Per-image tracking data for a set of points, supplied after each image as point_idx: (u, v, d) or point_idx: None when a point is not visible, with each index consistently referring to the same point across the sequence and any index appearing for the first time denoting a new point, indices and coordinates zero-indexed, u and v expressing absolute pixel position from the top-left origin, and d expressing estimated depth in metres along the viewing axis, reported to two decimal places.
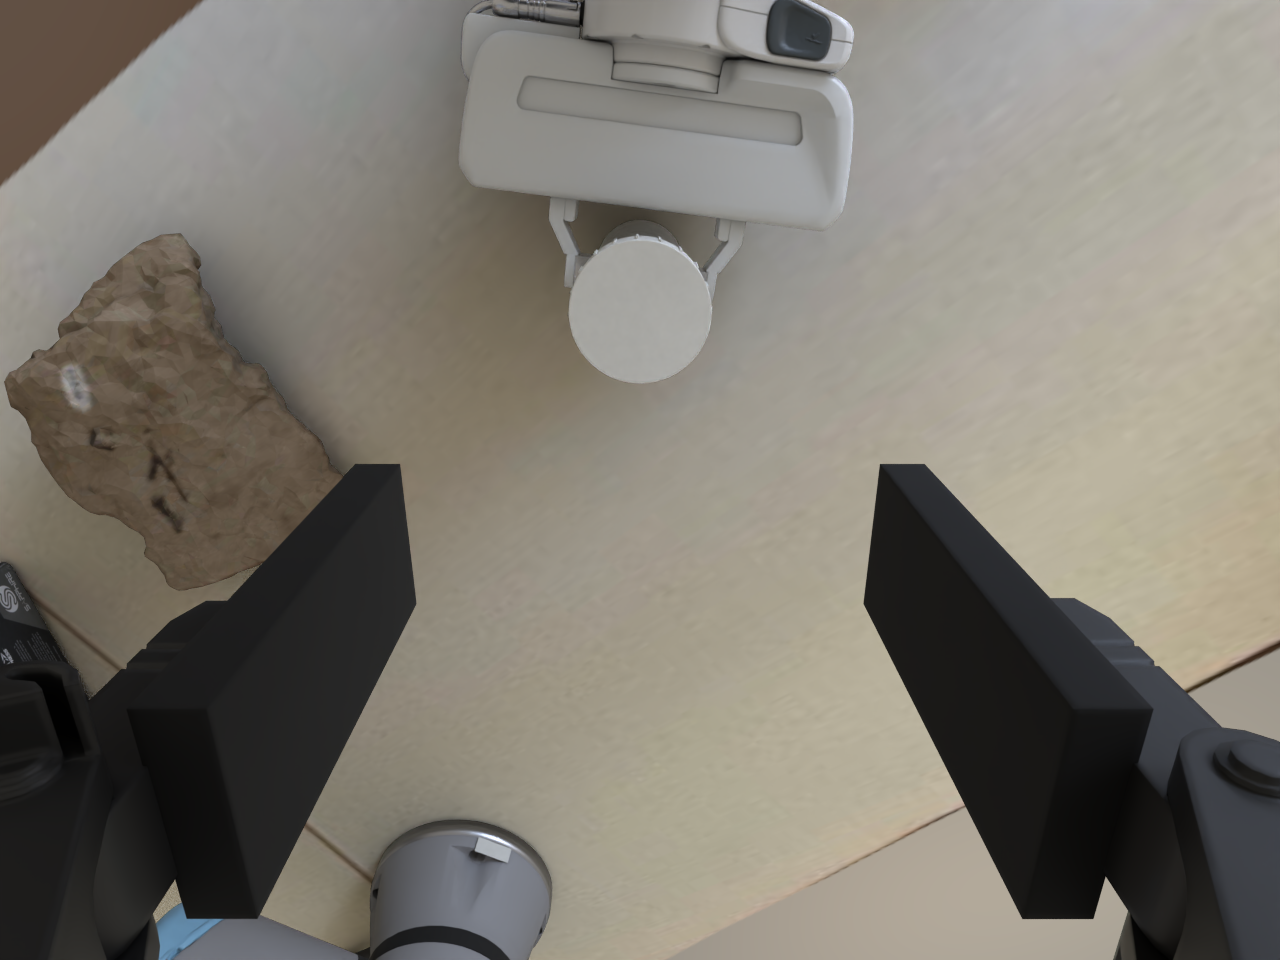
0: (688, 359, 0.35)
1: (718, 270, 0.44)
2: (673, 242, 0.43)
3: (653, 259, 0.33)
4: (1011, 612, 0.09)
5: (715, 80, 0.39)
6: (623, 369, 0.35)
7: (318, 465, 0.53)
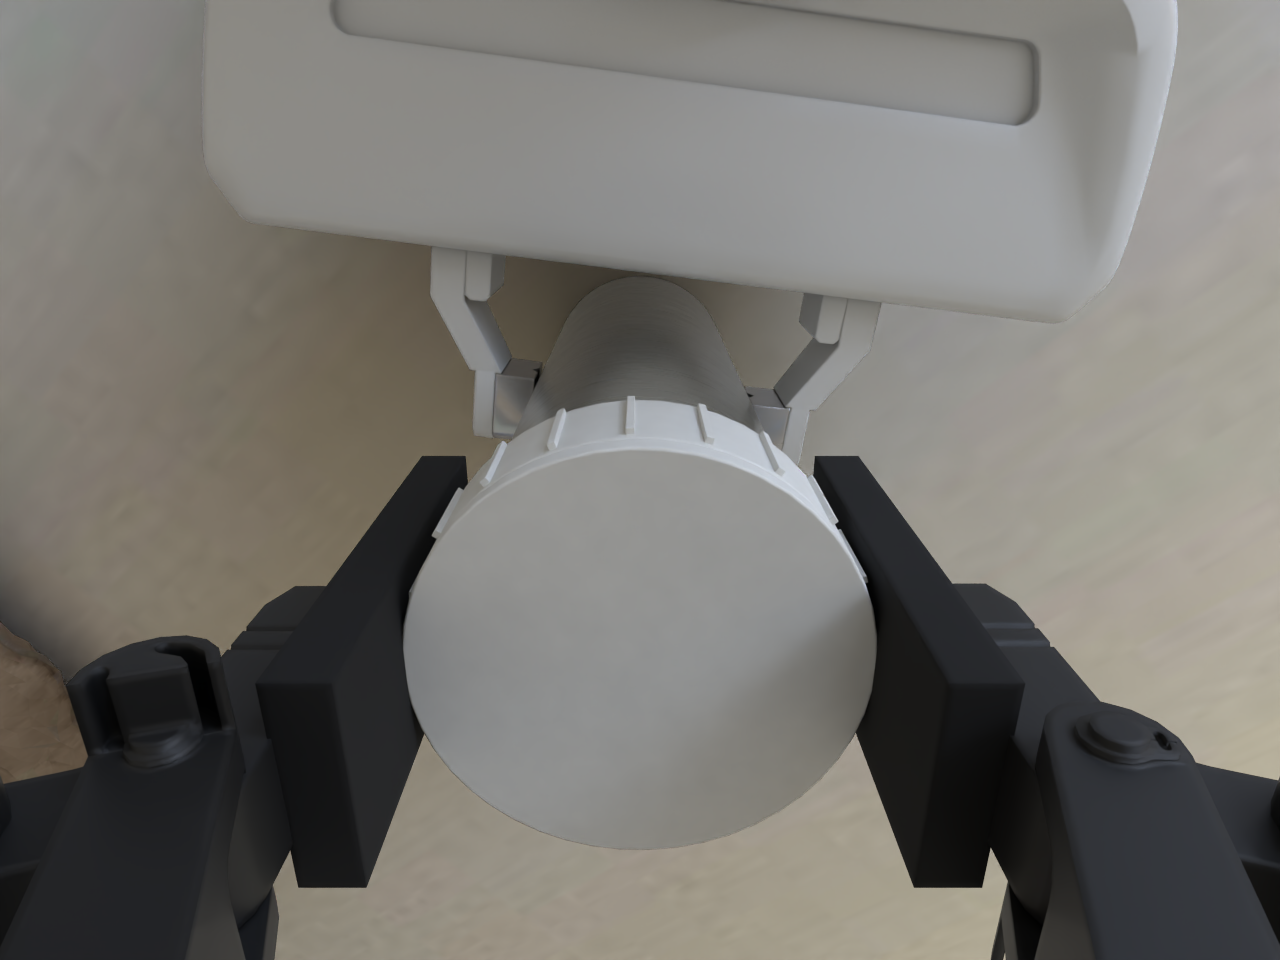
0: (793, 791, 0.11)
1: (813, 405, 0.20)
2: (715, 347, 0.19)
3: (688, 509, 0.10)
4: (910, 594, 0.09)
5: None
6: (587, 816, 0.11)
7: (49, 718, 0.29)
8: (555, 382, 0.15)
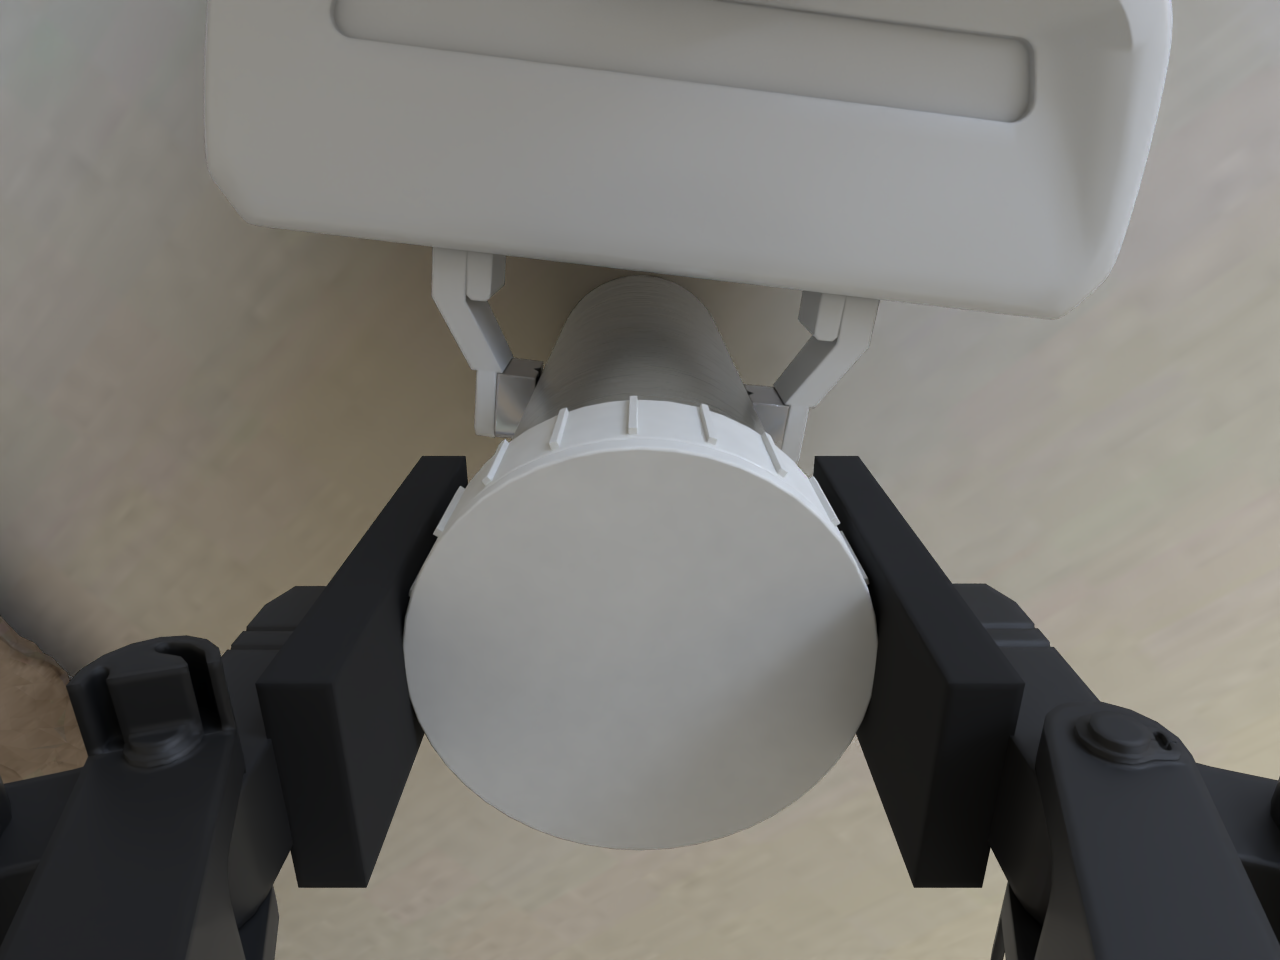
0: (671, 464, 0.09)
1: (812, 402, 0.20)
2: (715, 345, 0.19)
3: (475, 726, 0.11)
4: (910, 595, 0.09)
5: None
6: (830, 617, 0.10)
7: (56, 719, 0.29)
8: (556, 381, 0.15)
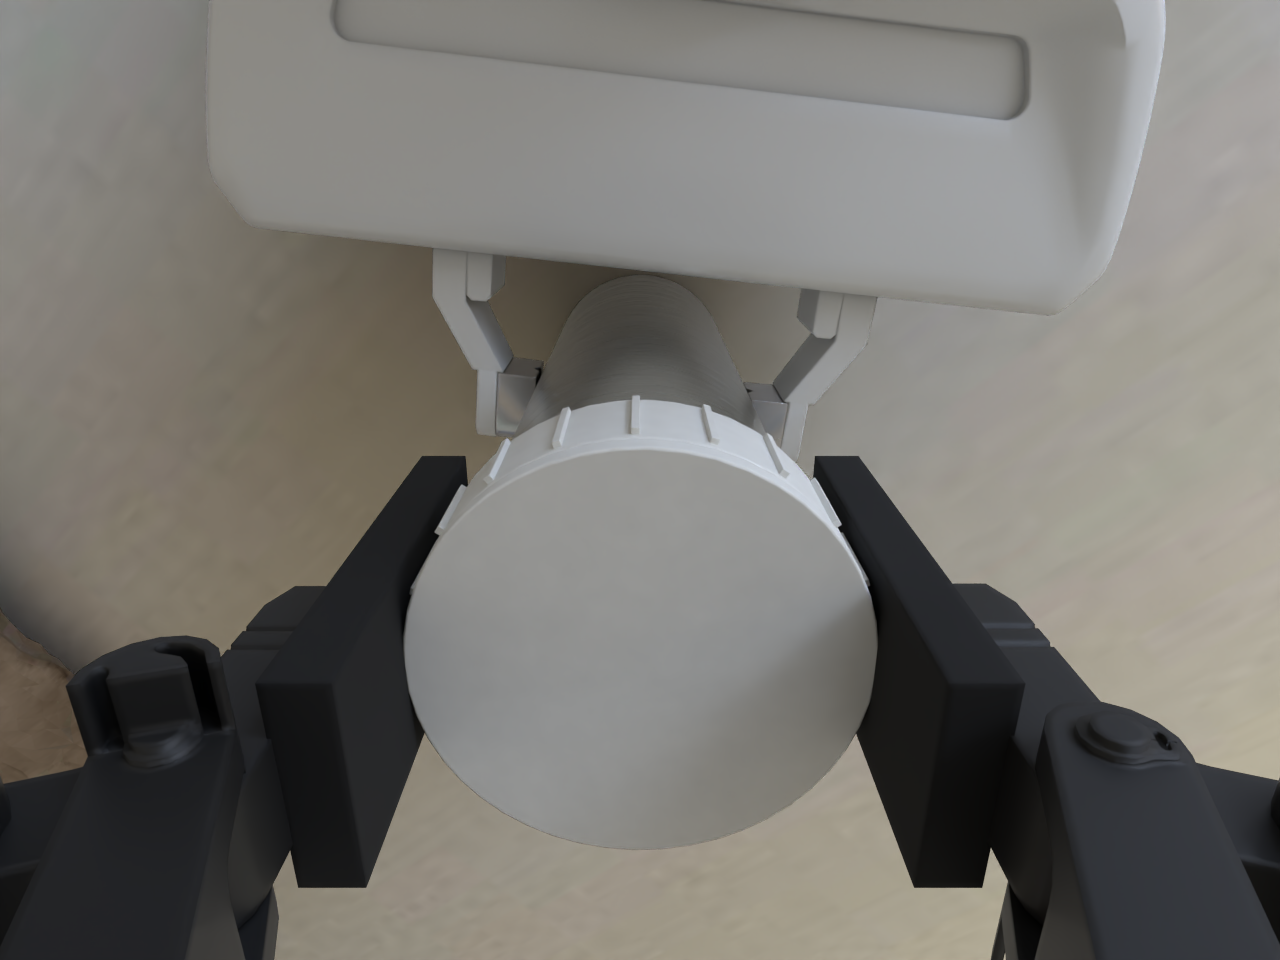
0: (452, 756, 0.11)
1: (811, 399, 0.20)
2: (714, 343, 0.19)
3: (786, 751, 0.11)
4: (910, 595, 0.09)
5: None
6: (473, 570, 0.10)
7: (63, 720, 0.29)
8: (556, 379, 0.16)
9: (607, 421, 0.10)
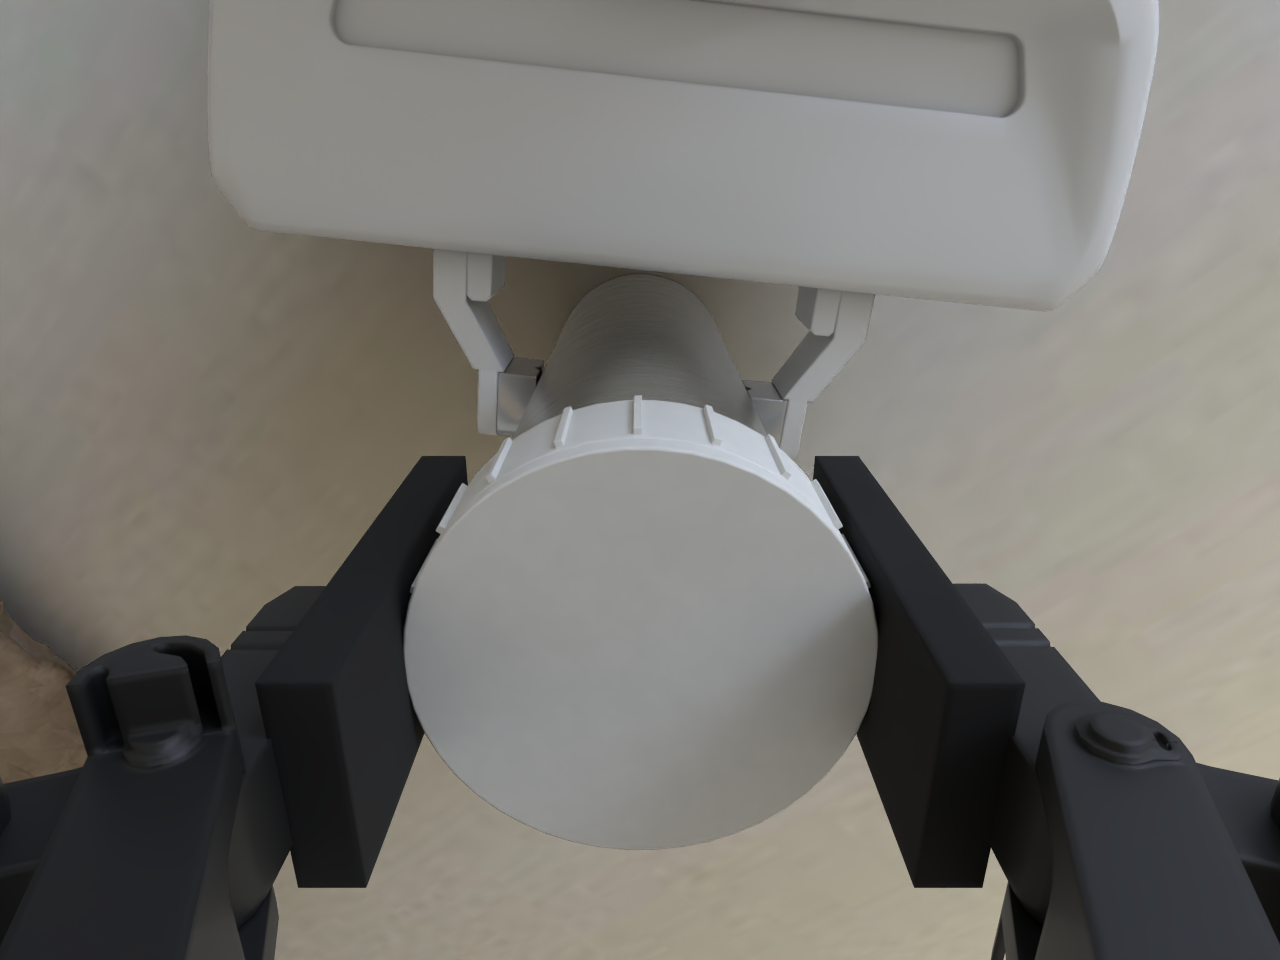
0: (832, 751, 0.11)
1: (810, 396, 0.20)
2: (713, 342, 0.19)
3: (632, 503, 0.09)
4: (910, 595, 0.09)
5: None
6: (639, 822, 0.11)
7: (69, 721, 0.29)
8: (556, 378, 0.16)
9: None
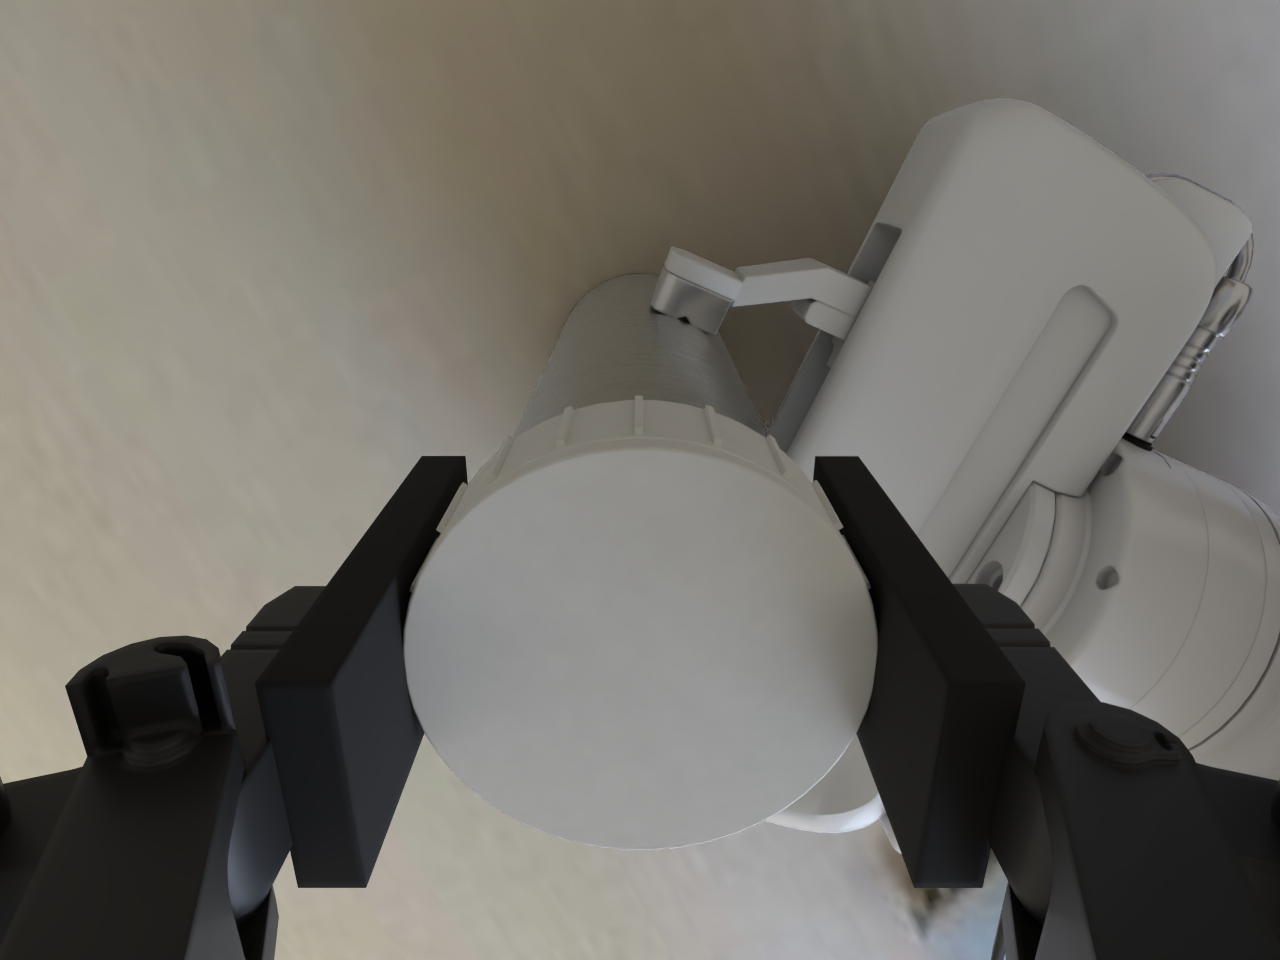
0: (831, 752, 0.11)
1: None
2: None
3: (633, 504, 0.09)
4: (910, 595, 0.09)
5: None
6: (638, 822, 0.11)
7: None
8: None
9: None
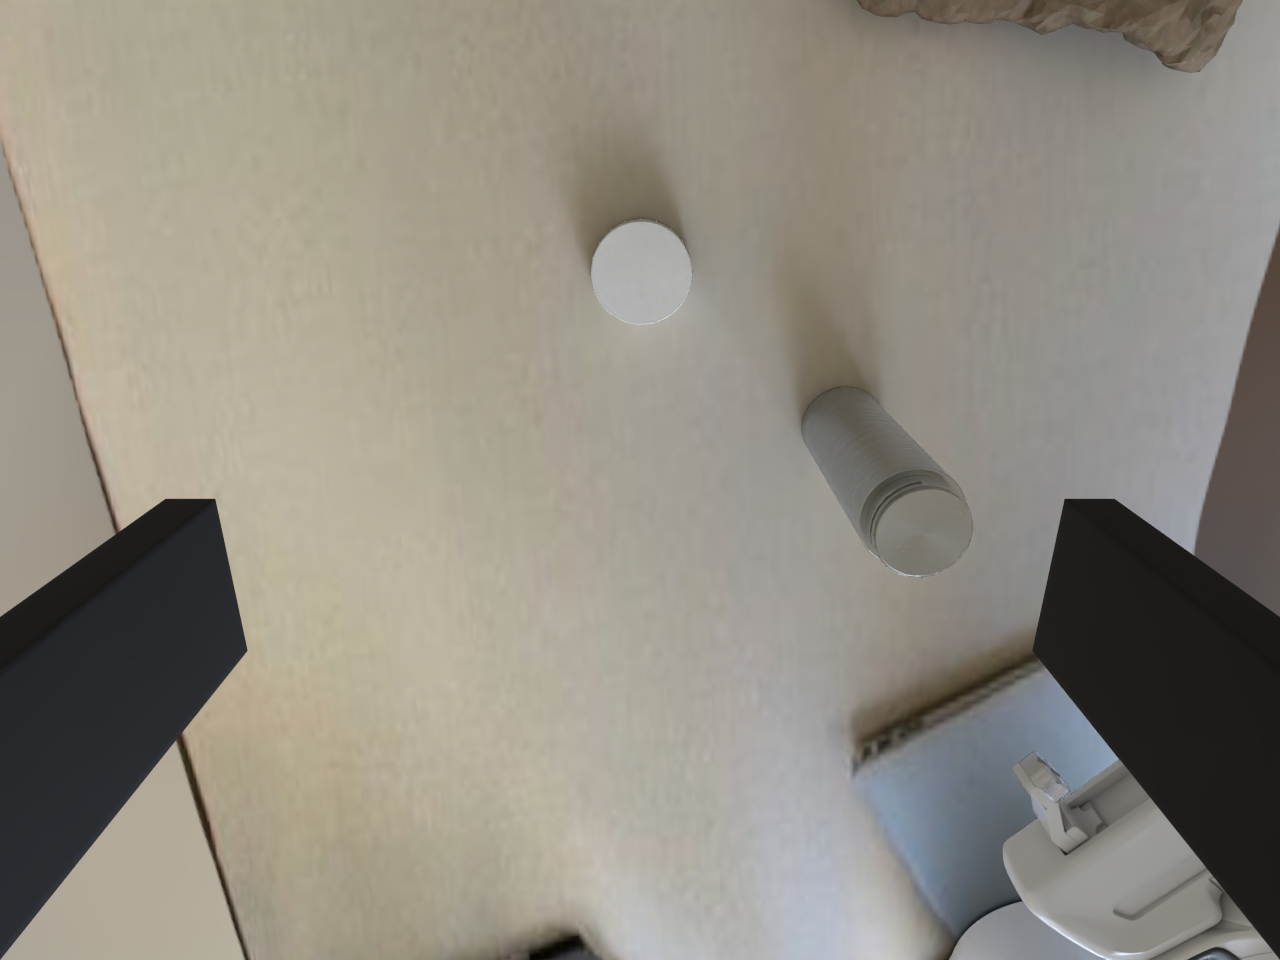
0: (683, 295, 0.49)
1: (1048, 811, 0.40)
2: None
3: (639, 233, 0.48)
4: None
5: None
6: (641, 315, 0.50)
7: (927, 3, 0.43)
8: None
9: None
